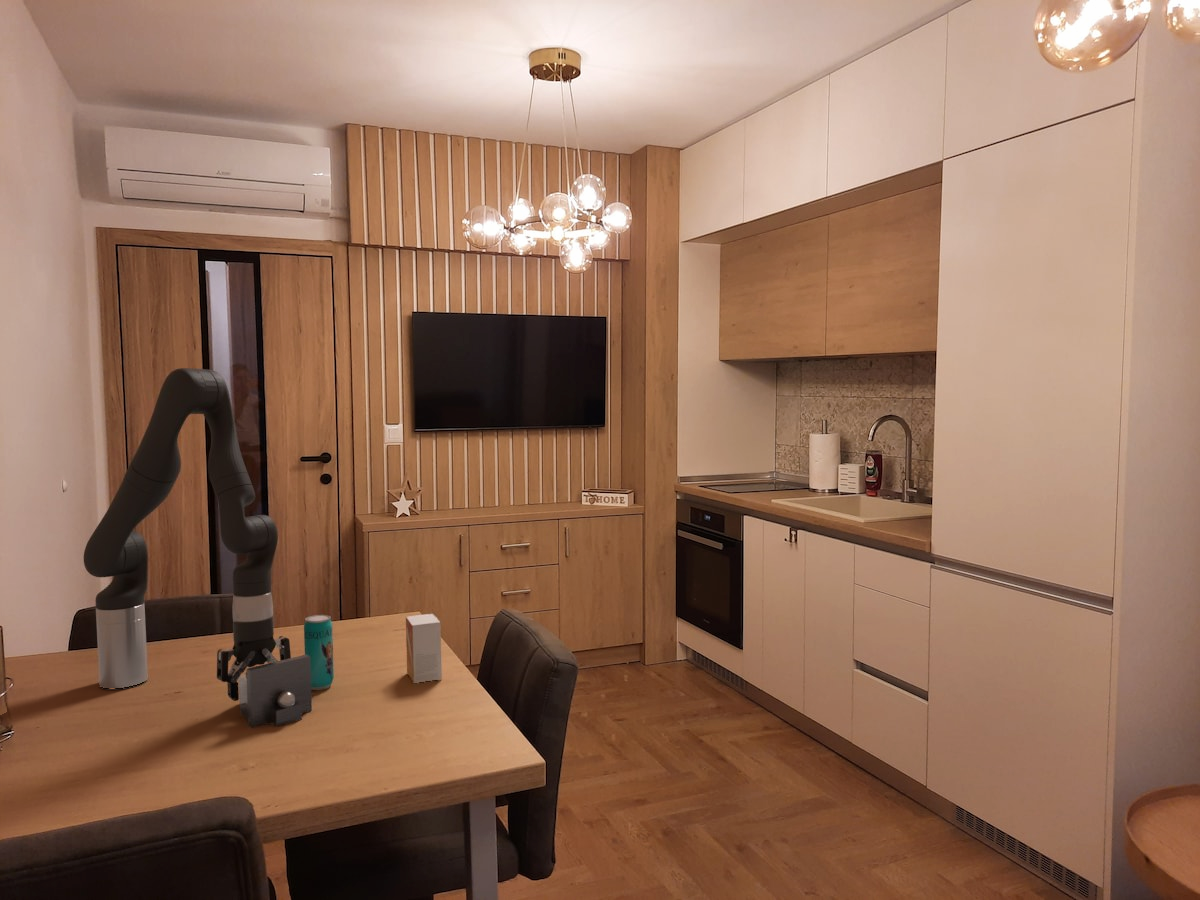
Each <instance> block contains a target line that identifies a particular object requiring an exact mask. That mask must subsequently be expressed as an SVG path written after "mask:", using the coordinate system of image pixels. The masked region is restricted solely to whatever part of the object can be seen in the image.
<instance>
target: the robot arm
mask: <svg viewBox="0 0 1200 900" xmlns="http://www.w3.org/2000/svg"><path fill="white" fill-rule="evenodd" d="M190 415H203V416H204V418H205V420H206V422H207V424H208V427H209V431H210V438H211V439H210V448H209V454H208V461H207V470H208V471H207V472H208V477H209V480H210V483H211V486H212V489H213V492H214V494H215V497H216V499H217V502H218V512H219V513H218V514H219V527H220V530H219V532H220V537H221V541H222V543H223V545H224V547H226V549H227V550H228V551H229V552H230V553H233V554H235V555H242V554H243V555H244V554H247V556H246V559H244V561H243V562H241V563H240V564H237V566H235V567H234V568H233V571H232V591H233V592H232V593H233V597H232V598H233V599H232V630H233V631H232V635H233V646H232V649H226V650H225V649H218V650H217V652H216V653H217V654H216V679H217V680H219V681H221V682H222V683H225V682H226V683H227V684H226V685H227V696H228V698H230V699H231V701H234V702H236V701H239V676H242V674H243V673H244V672H245V670H246V669H247V668H252V667H256V666H260V665H264V664H268V663H272V662H277V661H281V660H285V659H289V658H292V655H291V653H292V652H291V645H290V643H291V642H290V638H288V637H286V636H284V635H280V636H279V637H278V638H276V639H275V638H274V634H275V632H274V629H275V628H274V604H273V603H274V602H273V597H272V586H271V584H272V583H271V580H272V579H271V571H272V566H273V563H274V559H275V554H276V552H277V551H276V550H277V545H278V540H279V539H278V538H279V533H278V527H277V525H276V523H275V521H274V519H272V518H271V517H270V516H268V515H266V514H256V515H251V516H246V515H245V507H247V506H250V505H251V504H252V503H253V502H254V501H255V499H256V493H255V489H254V486H253V484H252V481H251V479H250V476H249V472H248V470H247V467H246V465H245V462H244V459H243V457H242V456H243V455H242V452H241V449H240V445H239V438H238V434H237V427H236V422H235V417H234V411H233V406H232V401H231V396H230V393H229V388H228V385H227V382H226V381H225V378H224V377H223V375H222V374H221V373H219V372H217V371H215V370H213V369H208V368H207V369H205V368H190V367H189V368H188V367H187V368H185V367H183V368H177V369H173V370H172V371H171V372H170V373H169V374H168V375H167V376H166V377H165V379H164V381H163V383H162V385H161V388H160V391H159V394H158V396H157V400H156V403H155V405H154V408H153V412H152V415H151V418H150V420H149V423H148V425H147V427H146V430H145V432H144V434H143V436H142V438H141V441H140V444H139V445H138V447H137V449H136V451H135V454H134V455H133V457H132V459H131V461H130V463H129V465H128V467H127V470H126V472H125V473H124V476H123V479H122V480H121V483H120V485H119V487H118V488H117V491H116V493H115V495H114V496H113V499H112V501H111V503H110V504H109V507H108V509H107V510H106V512H105V514H104V515H103V517H102V518H101V520H100V521H99V523H98V525H97V526H96V528H95V529H94V531H92V533H91V536H90V537H89V539H88V541H87V542H86V545H85V549H84V552H83V565H84V568H85V570H86V572H87V573H88V574H89V575H91V576H92V577H94V578H95V577H96V578H109V577H110V578H111V577H113V578H112V580H111V581H110V582H109V584H108V585H107V586H106V587H104V588H103V589H102V590H100V591H99V592H98V593H97V594H96V596H95V617H96V619H95V620H96V638H97V641H96V642H97V659H98V660H97V661H98V662H97V663H98V664H97V665H98V684H99V685H100V686H101V687H104V688H123V689H125V688H124V687H129V686H133V685H137V684H140V683H142V682H144V681H146V680H147V681H148V679H147V678H149V677H148V656H147V654H148V653H147V631H146V629H147V628H146V611H145V607H146V606H145V595H146V592H147V590H148V579H149V578H148V575H149V574H148V570H149V552H148V547H147V543H146V540H145V537H143V535H142V534H141V533H140V532H138V531H137V530H134V529H135V528H136V527H137V526H138V525H139V524H140V523H141V522H142V521H143V520H144V519H146V518H147V517H148V516H149V515H150V514H151V513H153V511H155V510H156V509H157V508H158V507H159V506H161V504H162V503H163V502H164V501H165V500H166V499H167V498H168V496H169V495H170V493H171V491H172V490H173V487H174V486H175V484H176V481H177V479H178V478H179V476H180V472H181V469H182V460H181V454H180V449H179V445H178V439H179V434H180V431H181V429H182V427H183V425H184V424H185V422H186V420H187V418H188V417H189V416H190ZM276 647H277V649H279V650H278V651H279V659H277V658H276V657H275V656H274V655H273V654H272V653H273V651H274V650H275V648H276ZM232 656H234V657H235V660H234V661H233V663H232V665H231V667H230V670H229V661H230V660H231V659H232ZM147 681H146V682H147ZM144 683H145V682H144ZM142 684H143V683H142ZM140 685H141V684H140ZM100 686H99V687H100ZM137 686H138V685H137ZM133 687H134V686H133ZM129 688H130V687H129Z"/></svg>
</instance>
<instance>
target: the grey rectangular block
mask: <svg viewBox="0 0 1200 900" xmlns="http://www.w3.org/2000/svg"><path fill="white" fill-rule="evenodd" d="M238 691H239V700H238V701H239V705H240V704H243V703H246V704H247V679H246V674H241V675H240V676H239V678H238Z"/></svg>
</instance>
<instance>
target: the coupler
mask: <svg viewBox="0 0 1200 900" xmlns="http://www.w3.org/2000/svg"><path fill="white" fill-rule="evenodd" d="M245 670H246V672H245V675H246V679H247V704H246V703H243V704H240V703H239V712H240V713H239V714H240V715H241V716H242V717H244V718H246V719H247V725H248V727H250V728H251V729H253V728H257V727H261V726H264V725H267V724H271V723H272V724H271V725H273V726H274V727H280V725H281V726H284V725H287V723H288V724H290V723H294V722H298V721H300V720H303V715H302V714H305V713H308V712H311V711H312V709H313V708H312V705H313V704H312V690H311V667H310V656H309V655H305V654H303V655H298V656H294V657H291V658H289V659H285V660H281V661H280V660H278V661H277V662H272V663H264V664H262V665H255V666H253V667H246V669H245Z"/></svg>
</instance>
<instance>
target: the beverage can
mask: <svg viewBox="0 0 1200 900" xmlns="http://www.w3.org/2000/svg"><path fill="white" fill-rule="evenodd" d="M304 620H305V622H304V625H303V635H304V636H303V638H304V641H303V643H304V645H303V646H304V655H309V656H310V667H311V691H322V690H323V689H324V690H327V689H329V688H330V687H331V686H332V684H333V681H334V677H335V675H334V674H335V671H334V669H335V668H334V644H333V641H334V639H333V634H334V633H333V622H332V619H331V615H328V614H317V615H316V614H315V615H311V616H308V617H307V616H306V617H305V619H304ZM324 690H323V691H324Z"/></svg>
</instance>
